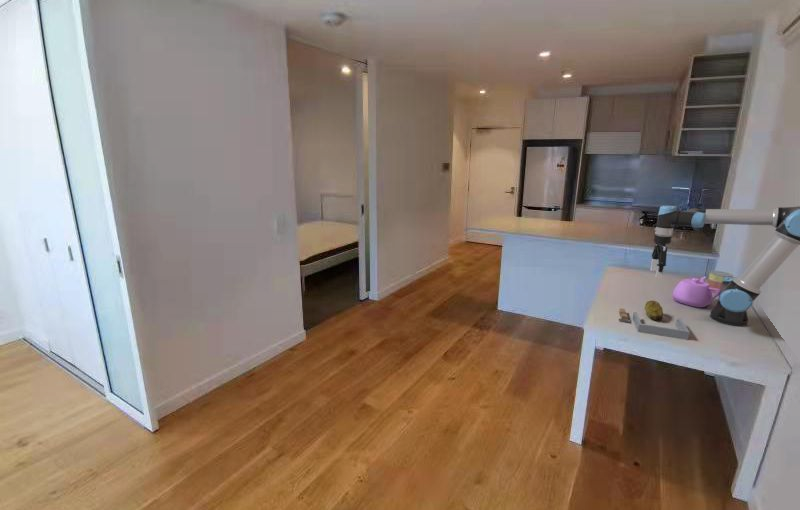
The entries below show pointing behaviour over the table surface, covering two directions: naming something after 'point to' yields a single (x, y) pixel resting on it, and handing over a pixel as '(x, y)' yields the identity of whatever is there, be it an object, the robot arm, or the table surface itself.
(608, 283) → the table surface
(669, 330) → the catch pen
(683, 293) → the teapot
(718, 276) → the canned food
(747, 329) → the table surface
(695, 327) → the table surface
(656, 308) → the potato
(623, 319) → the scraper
